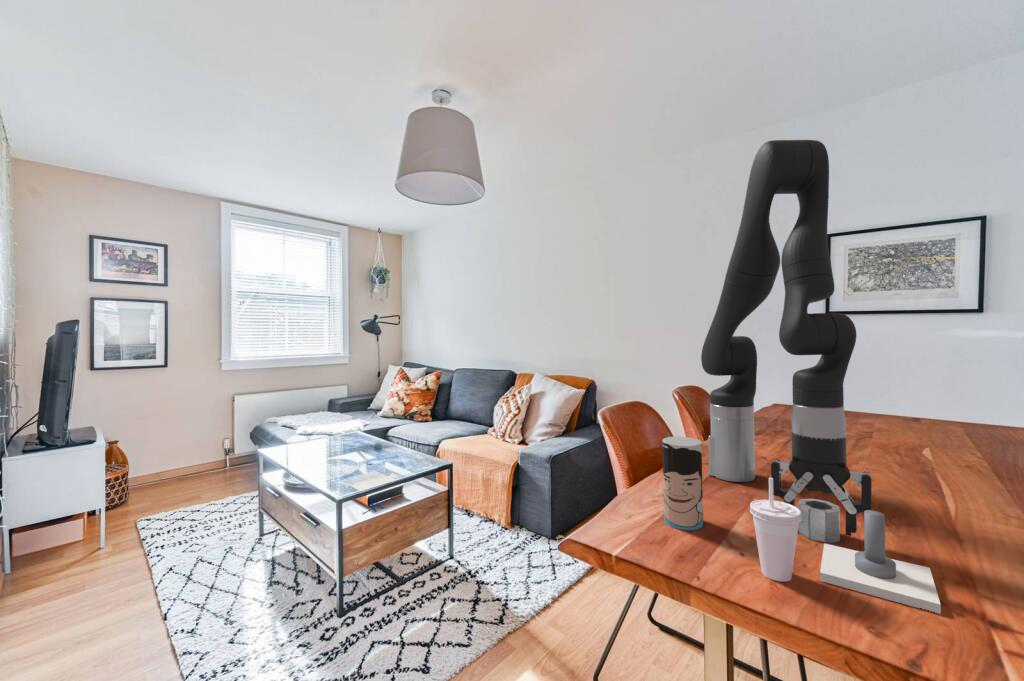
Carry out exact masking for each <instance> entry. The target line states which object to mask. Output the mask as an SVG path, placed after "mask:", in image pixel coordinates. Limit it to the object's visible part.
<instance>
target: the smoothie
mask: <svg viewBox="0 0 1024 681" xmlns="http://www.w3.org/2000/svg"><path fill="white" fill-rule="evenodd" d="M774 497H775V496H774V495H773V478H771V477H768V499H757V500H753V501H751V502H750V503H749V512H750V513H751V515H752V517H753V518H752V519H753V525H754V533H755V537H756V538H755V539H756V545H757V552H758V557H759V558H758V559H759V563H760V571H761V573H762V575H763V576H765V577H766V578H768V579H770V580H772V581H776V582H783V583H784V582H785V583H786V582H790V581H791V580H792V576H793V569H794V564H795V563H794V560H795V554H796V553H795V552H796V547H797V540H798V539H797V538H798V533H799V522H801V521H802V517H801V511H800V510H799V509H798V506H797V507H796V505H795V506H793V505H791V504H788V503H785V502H783V501H780V500H775V499H774Z"/></svg>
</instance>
